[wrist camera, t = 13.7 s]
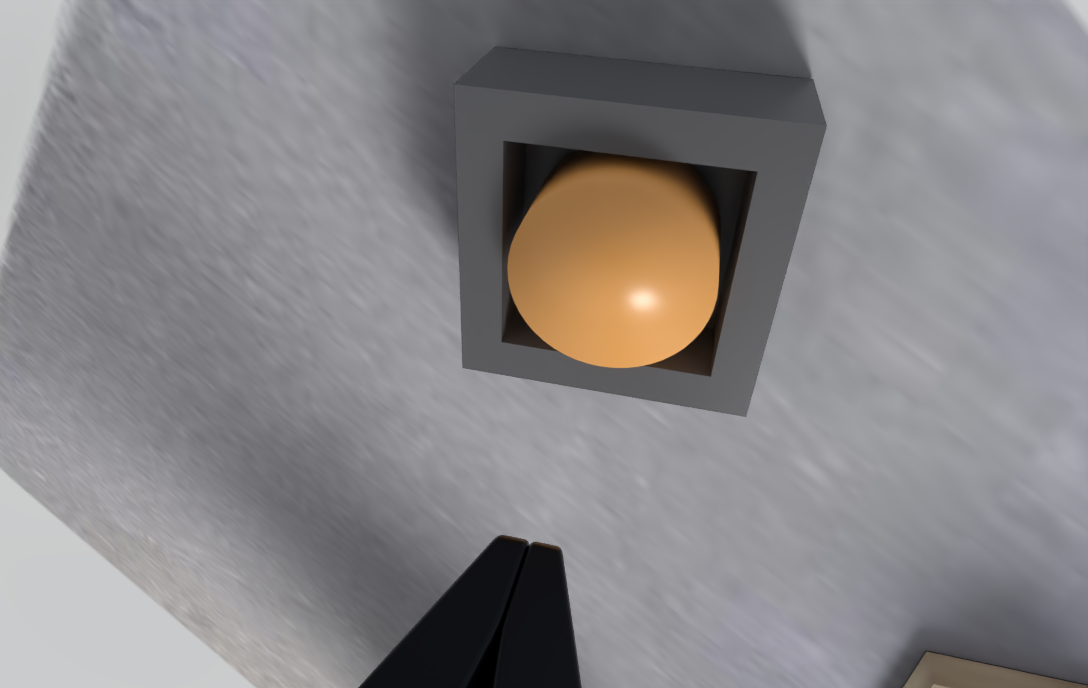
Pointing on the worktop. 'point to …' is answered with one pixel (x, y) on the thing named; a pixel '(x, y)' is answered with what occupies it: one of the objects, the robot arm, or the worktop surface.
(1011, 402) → the worktop surface
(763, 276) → the button housing
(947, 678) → the picture frame
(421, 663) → the robot arm
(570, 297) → the button
